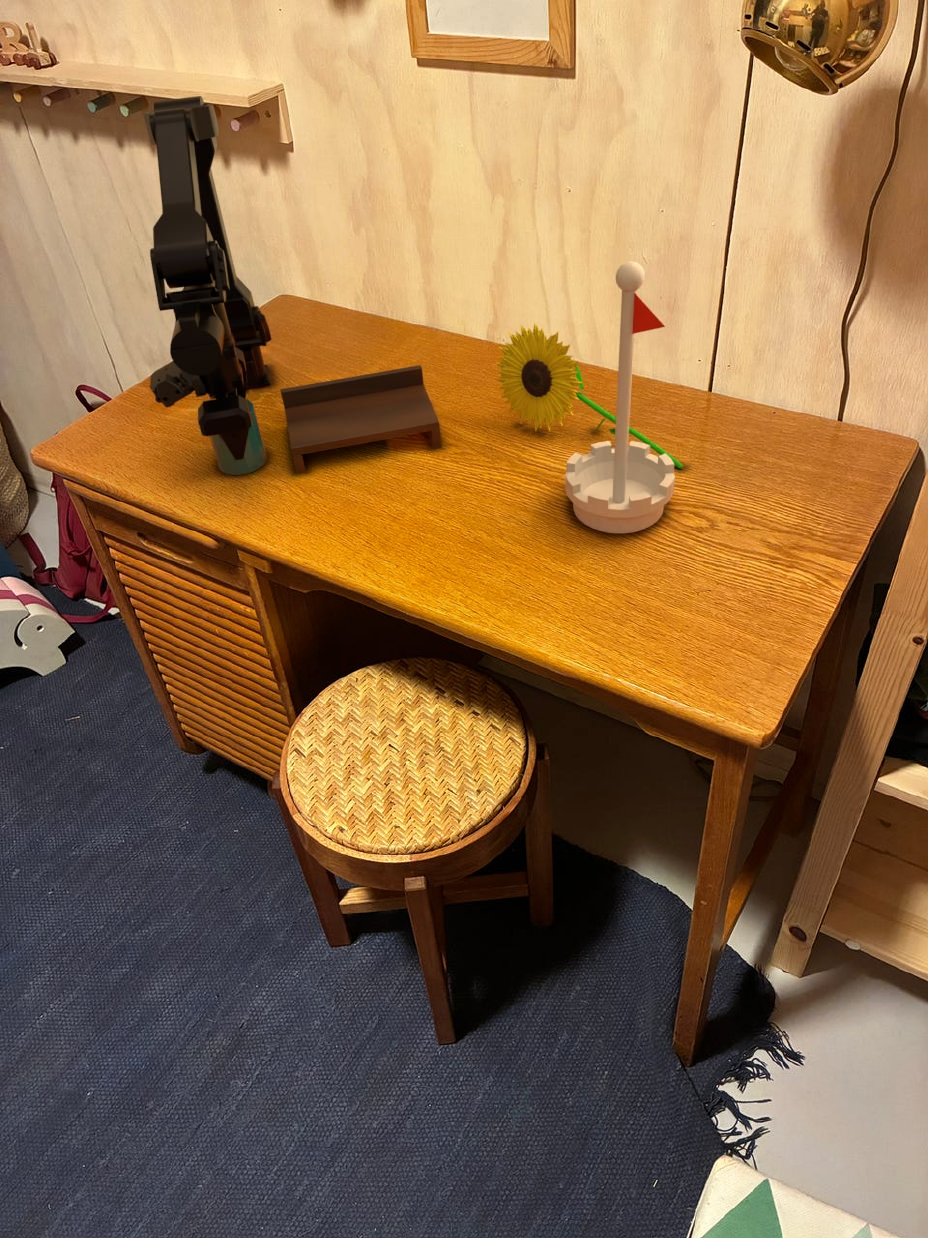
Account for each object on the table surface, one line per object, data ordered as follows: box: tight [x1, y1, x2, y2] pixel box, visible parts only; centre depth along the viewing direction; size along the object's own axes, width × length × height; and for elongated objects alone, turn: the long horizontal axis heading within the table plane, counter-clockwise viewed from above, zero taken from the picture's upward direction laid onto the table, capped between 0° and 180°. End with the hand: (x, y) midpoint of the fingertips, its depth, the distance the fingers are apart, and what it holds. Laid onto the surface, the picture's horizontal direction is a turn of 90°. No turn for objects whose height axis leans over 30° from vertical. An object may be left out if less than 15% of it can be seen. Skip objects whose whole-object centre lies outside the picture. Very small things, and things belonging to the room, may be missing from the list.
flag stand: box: [564, 261, 676, 534], centre depth 102 cm, size 13×13×30 cm
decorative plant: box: [494, 321, 684, 470], centre depth 121 cm, size 15×6×30 cm
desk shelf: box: [280, 364, 442, 474], centre depth 126 cm, size 12×20×6 cm, turn 103°
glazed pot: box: [208, 398, 268, 476], centre depth 124 cm, size 7×7×8 cm
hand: (238, 445), depth 125 cm, fingers closed on glazed pot, 6 cm apart
